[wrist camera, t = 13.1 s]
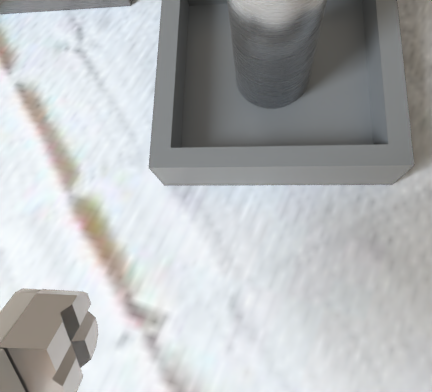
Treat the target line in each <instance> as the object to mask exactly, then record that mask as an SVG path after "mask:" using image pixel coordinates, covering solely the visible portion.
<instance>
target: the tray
mask: <svg viewBox="0 0 432 392" xmlns="http://www.w3.org/2000/svg"><path fill="white" fill-rule="evenodd" d="M413 166H414V158H413V148H412V139H411V129H410V119H409V110H408V100H407V91H406V81H405V72H404V62H403V53H402V43H401V33H400V24H399V14H398V5H397V0H327V3H326V7H325V12H324V16H323V20H322V25H321V29H320V33H319V38H318V42H317V46H316V51H315V55H314V59H313V64H312V68H311V73H310V77H309V81H308V85H307V87H306V89H305V91H304V93H303V94H302V95H301V96H300V97H299V98H298V99H297V100H296V101H295V102H293V103H291V104H290V105H287V106H285V107H281V108H276V109H267V108H261V107H258V106H256V105H253V104H252V103H250V102H249V101H247V100H246V99H245V98H244V97H243V96H242V94H241V93H240V91H239V89H238V87H237V83H236V75H235V66H234V57H233V49H232V40H231V31H230V22H229V13H228V4H227V0H162V6H161V19H160V31H159V44H158V57H157V69H156V82H155V95H154V107H153V120H152V133H151V145H150V158H149V169H150V170H151V171H152V172H153V173H154V174H155V175H156V177H157V178H158V179H159V180H160V181H161V182H162V183H163V184H164V185H392V184H393V183H395V182H396V181H397V180H398V179H399V178H400V177H401V176H403V175H404V174H405V173H406V172H407V171H408V170H409V169H411V168H412V167H413Z"/></svg>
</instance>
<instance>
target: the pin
mask: <svg viewBox="0 0 432 392" xmlns="http://www.w3.org/2000/svg"><path fill="white" fill-rule="evenodd" d="M326 3H327V0H227V4H228V13H229V22H230V31H231V40H232V49H233V57H234V66H235V75H236V83H237V87H238V89H239V91H240V93H241V94H242V96H243V97H244V98H245V99H246V100H247V101H249V102H250V103H252V104H253V105H256V106H258V107H261V108H267V109H276V108H281V107H285V106H287V105H290V104H291V103H293V102H295V101H296V100H297V99H298V98H299V97H300V96H301V95H302V94H303V93H304V91H305V89H306V87H307V85H308V81H309V77H310V73H311V68H312V64H313V59H314V55H315V51H316V46H317V42H318V38H319V33H320V29H321V25H322V20H323V16H324V12H325V7H326Z"/></svg>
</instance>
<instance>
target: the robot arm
mask: <svg viewBox="0 0 432 392" xmlns="http://www.w3.org/2000/svg"><path fill="white" fill-rule="evenodd" d="M90 305H91V302H90V299H89V296H88V294H87V293H85V292H81V291H64V290H46V289H42V290H39V289H21V290H19V291H17V292H15V293H14V295H13V296H12V297H11V299H10V300H9V301H8V303H7V304H6V305H5V306H4V308H3V309H2V310H1V312H0V392H77V390H78V388H79V386H80V383H81V381H82V379H83V374H82V371H81V367H82V366H83V365H84V364H86V363H87V362H88V361H89V360H91V358H92V356H93V353H94V351H95V348H96V344H97V338H98V325H97V321H96V318H95V317H94V316H93V315H92V314H91V313H90V312H88V309H89V307H90Z"/></svg>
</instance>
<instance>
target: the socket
mask: <svg viewBox="0 0 432 392" xmlns="http://www.w3.org/2000/svg"><path fill="white" fill-rule="evenodd" d="M117 6H131V0H0V14H7V13H22V12H38V11H54V10H70V9H85V8H101V7H117Z"/></svg>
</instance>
